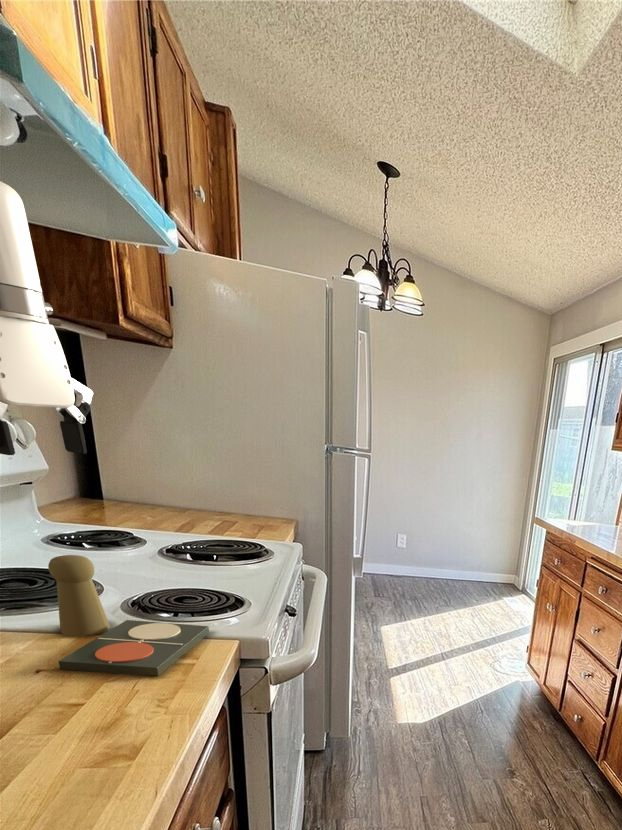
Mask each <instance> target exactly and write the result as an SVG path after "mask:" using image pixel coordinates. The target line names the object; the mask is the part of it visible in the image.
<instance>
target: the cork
mask: <svg viewBox="0 0 622 830" xmlns="http://www.w3.org/2000/svg"><path fill="white" fill-rule="evenodd" d="M47 568H48V569H47V570H48V572H49V574H50V576H51V578H53V579H54V580H55V581H56V592H57V605H58V618H59V630H60V631H59V632H60V633H61V634H62V635H65V636H71V637H86V636H88V637H89V636H94V635H98V634H104V633H106V632H108V631H109V630H110V628H111V626H110V623H109V620H108V617H107V615H106V612H105V609H104V607H103V603H102V602H101V599H100V597H99V594H98V591H97V589H96V586H95V584H94V581H93V577H94V575H95V566H94V564H93V562H92V560H90V559H89V558H88V557H86V556H83V555H78V554H65V555H57V556H55V557H53V558H51V559H50V560H49V562H48V566H47Z"/></svg>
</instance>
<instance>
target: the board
mask: <svg viewBox="0 0 622 830" xmlns="http://www.w3.org/2000/svg"><path fill="white" fill-rule="evenodd" d="M209 634H210V627H209V626H208V625H197V624H185V623H173V622H172V623H171V622H158V621H147V620H146V621H145V620H133V619H126V620H124V621H122V622H121V623H119V624H118V625H116V626H114V627H113V628H111V629H108V630H107V631H105V632H103V633H102V634H101V635H99V636H97V637H96V638H94V639H93V640H91V641H89V642H88V643H86V644H84V645H82V646H81V647H79V648H78V649H75V650H74V651H73V652H71V653H70V654H67V655H66V656H64V657H62V658H60V659H59V660H58V662H57V663H58V667H59V669H60V670H66V671H79V672H94V673H109V674H121V675H122V674H123V675H125V674H126V675H139V676H152V677H159V676H160V675H162V674H163V673H164V672H165V671H166V670H168V669H169V668H170V667H171V666H172V665H173V664H175V663H176V662H177V661H178V660H179V659H181V658H183V656H184V655H186V654H187V653H188V652H189V651H190V650H191V649H193V648H194V647H195V646H196V645H197V644H198V643H200V642H201V641H202V640H203V639H204V638H206V637H207V636H208V635H209Z"/></svg>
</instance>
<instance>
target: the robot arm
mask: <svg viewBox="0 0 622 830" xmlns="http://www.w3.org/2000/svg"><path fill="white" fill-rule="evenodd" d="M34 251H35V250H34V247H33V242H32V238H31V233H30V228H29V223H28V218H27V214H26V209H25V206H24V202H23V200H22V198H21V196H20V195H19V193H18V192H17V191H16V190H15V189H14V188H12V187H11V186H10V185H9V184H7V183H4V182H3V181H1V180H0V455H5V456H14V455H15V454H16V450H15V446H14V442H13V439H12V435H11V430H10V427H9V423H8V422H7V421H6V420H2V418H3V416H4V414H5V413H6V411H7V409H8V408H9V406H10V405H11V406H18V407H19V406H20V407H37V408H52V409H53V410H54V411H55V412H56V413H57V414H58V415H59V416H60V417H61V418H62V419H63V420H59V426H60V431H61V435H62V440H63V444H64V449H65V450H66V451H67V452H68V453H74V454H80V455H86V454H87V453H88V449H87V445H86V439H85V434H84V429H83V424H85V423H86V421H87V419H86V418H87V416H88V414H89V413H90V411H91V406H90V405H91V404H92V399H93V396H94V392H93V390H92V389H90V388H88V387H87V386H86V385H85V384H83V383H81V382H80V381H77V380H76V379H75V378H73V377H71V373H70V369H69V365H68V363H67V359H66V355H65V353H64V349H63V347H62V344H61V341H60V339H59V336H58V334H57V330H56V329H55V327H54V325H53V324H50V322H49V318H48V315H49V316H52V315H53V313H54V310H53V306H52V304H51V303H49V302H46V301H45V298H44V294H43V289H42V285H41V280H40V276H39V271H38V266H37V261H36V256H35V252H34ZM75 396H76V397H75Z"/></svg>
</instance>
